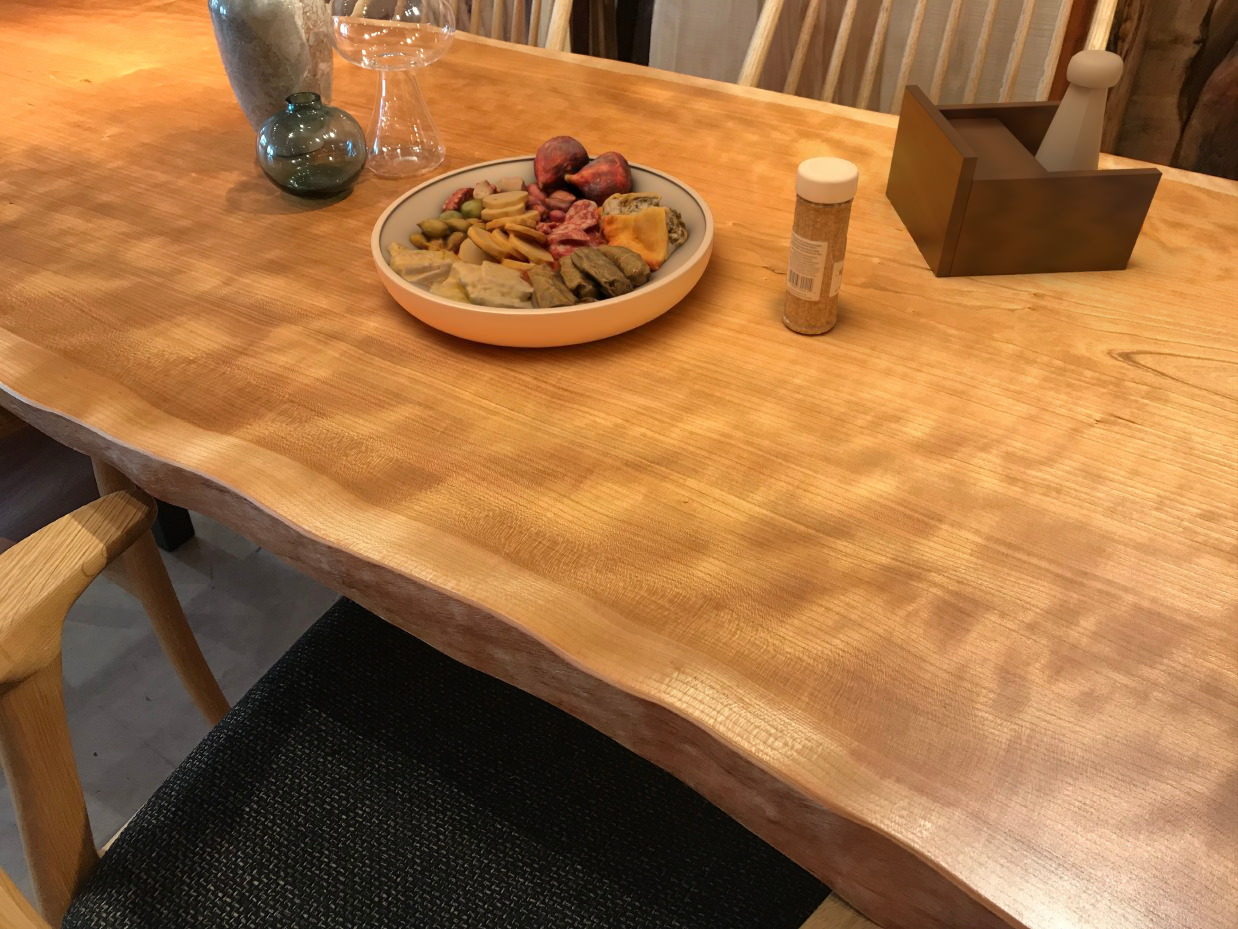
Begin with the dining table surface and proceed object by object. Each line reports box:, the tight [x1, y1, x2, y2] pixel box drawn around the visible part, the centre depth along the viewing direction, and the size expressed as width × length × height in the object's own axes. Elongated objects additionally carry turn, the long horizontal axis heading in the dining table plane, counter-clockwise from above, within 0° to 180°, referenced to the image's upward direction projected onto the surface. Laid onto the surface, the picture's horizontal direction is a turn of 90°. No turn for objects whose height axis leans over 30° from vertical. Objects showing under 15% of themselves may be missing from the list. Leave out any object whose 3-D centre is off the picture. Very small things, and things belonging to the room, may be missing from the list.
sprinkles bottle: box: [781, 156, 860, 335], centre depth 72 cm, size 5×5×13 cm
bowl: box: [370, 135, 715, 348], centre depth 81 cm, size 30×30×8 cm
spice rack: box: [885, 84, 1163, 278], centre depth 84 cm, size 17×17×11 cm
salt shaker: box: [1035, 49, 1124, 172], centre depth 82 cm, size 6×6×13 cm
